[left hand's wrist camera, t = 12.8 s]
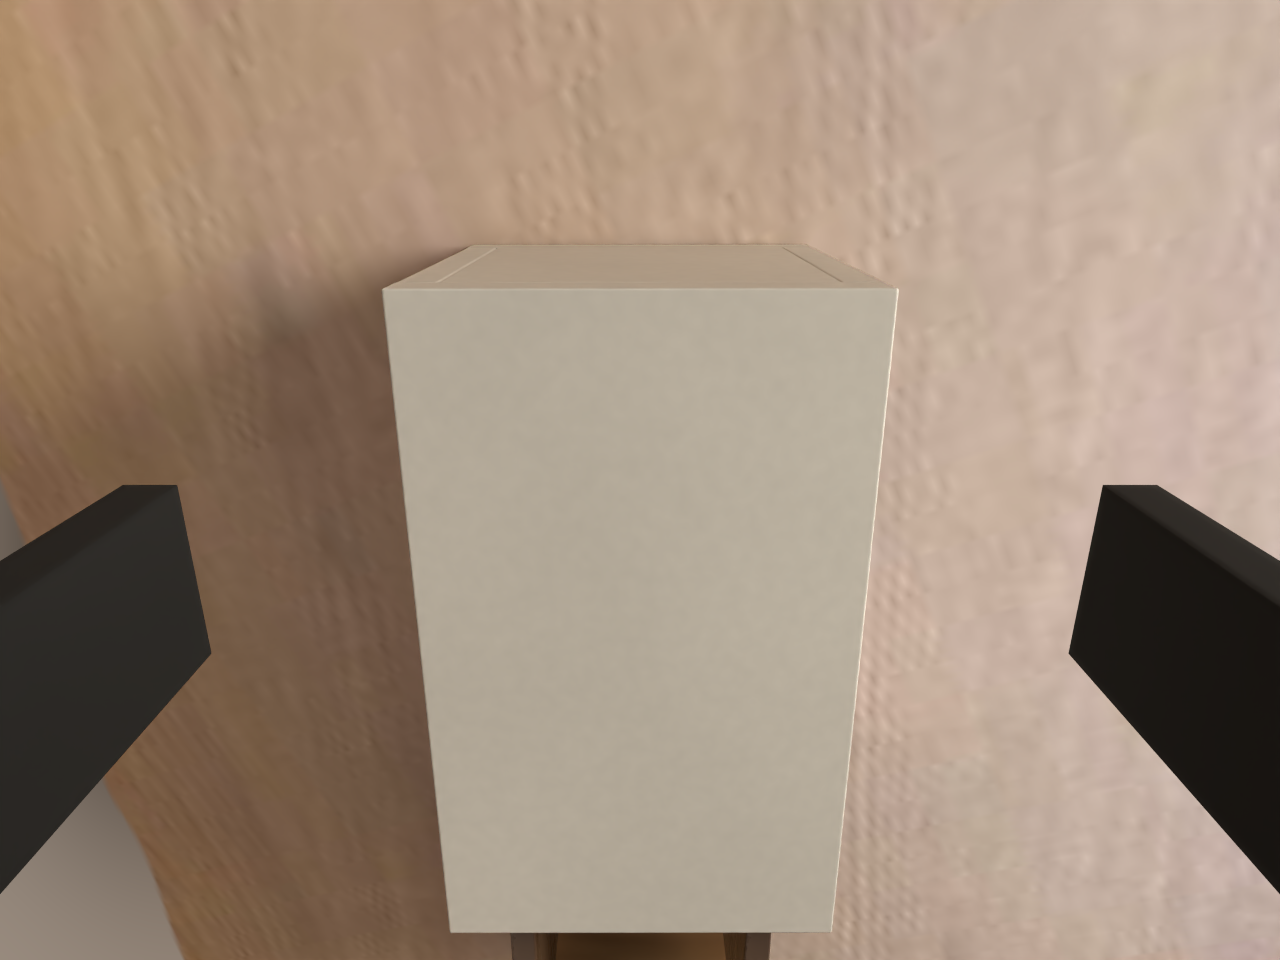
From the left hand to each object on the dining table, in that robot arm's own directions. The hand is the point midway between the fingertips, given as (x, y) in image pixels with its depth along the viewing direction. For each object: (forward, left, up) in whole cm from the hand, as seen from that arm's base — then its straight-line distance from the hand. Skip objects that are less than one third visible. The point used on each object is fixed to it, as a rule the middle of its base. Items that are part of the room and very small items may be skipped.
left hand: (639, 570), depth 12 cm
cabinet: (+6, +1, -18) cm, 19 cm away
